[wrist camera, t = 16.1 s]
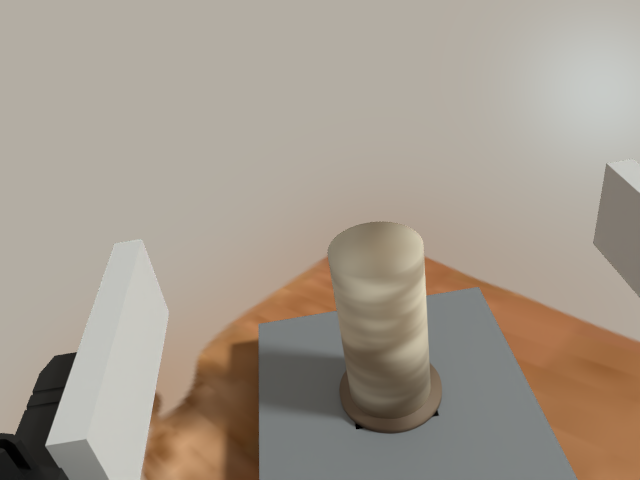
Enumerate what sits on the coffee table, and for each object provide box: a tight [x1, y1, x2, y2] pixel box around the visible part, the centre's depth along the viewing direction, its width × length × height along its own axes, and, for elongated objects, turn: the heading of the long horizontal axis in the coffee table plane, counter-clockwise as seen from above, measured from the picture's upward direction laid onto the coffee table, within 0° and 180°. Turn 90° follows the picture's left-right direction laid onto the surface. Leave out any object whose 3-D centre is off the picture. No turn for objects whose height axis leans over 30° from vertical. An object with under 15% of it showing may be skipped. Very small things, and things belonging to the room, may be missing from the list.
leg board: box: [259, 287, 578, 480], centre depth 45 cm, size 20×20×3 cm
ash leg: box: [328, 222, 442, 434], centre depth 41 cm, size 8×8×16 cm
